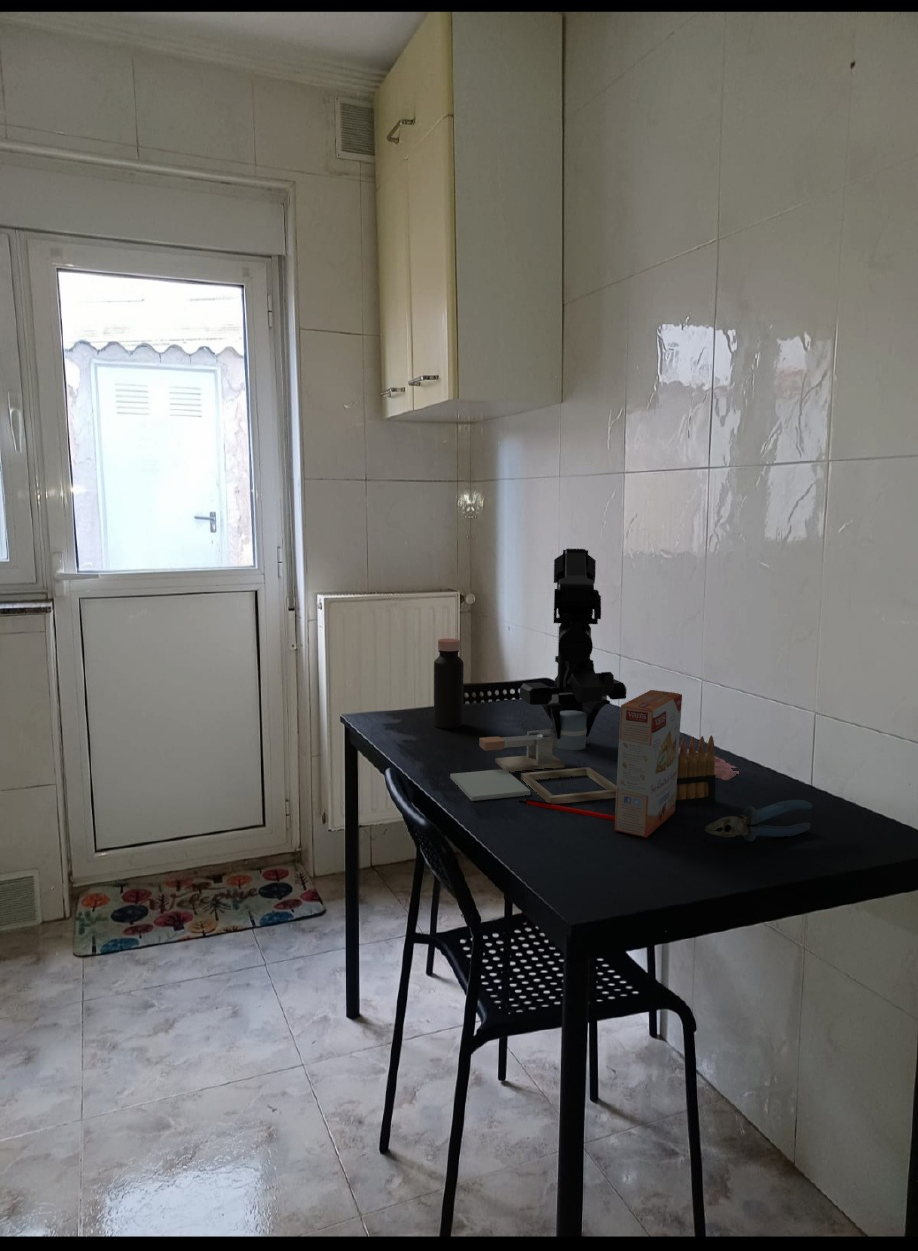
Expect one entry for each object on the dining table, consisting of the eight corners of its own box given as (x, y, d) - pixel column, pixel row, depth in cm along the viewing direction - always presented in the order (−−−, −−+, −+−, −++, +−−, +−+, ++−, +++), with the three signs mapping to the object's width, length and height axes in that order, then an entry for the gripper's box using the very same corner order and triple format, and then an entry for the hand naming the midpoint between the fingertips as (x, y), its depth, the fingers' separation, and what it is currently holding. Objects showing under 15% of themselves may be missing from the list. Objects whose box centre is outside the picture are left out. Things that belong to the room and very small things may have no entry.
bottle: (445, 720, 208) (445, 636, 205) (468, 724, 204) (469, 639, 201) (427, 726, 203) (428, 640, 200) (451, 730, 199) (452, 643, 196)
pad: (505, 773, 169) (505, 769, 169) (530, 795, 157) (530, 790, 157) (450, 778, 166) (450, 773, 166) (471, 801, 154) (471, 796, 154)
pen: (520, 802, 154) (520, 796, 154) (626, 822, 145) (626, 816, 145) (518, 804, 153) (518, 798, 153) (624, 824, 144) (625, 817, 144)
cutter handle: (559, 742, 178) (559, 728, 177) (566, 747, 174) (566, 732, 174) (479, 749, 173) (479, 734, 172) (485, 754, 169) (485, 739, 169)
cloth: (741, 787, 164) (742, 775, 164) (623, 774, 171) (624, 762, 171) (744, 757, 183) (744, 746, 183) (638, 746, 190) (638, 735, 190)
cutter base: (550, 757, 180) (551, 728, 179) (564, 767, 173) (565, 737, 172) (495, 762, 176) (495, 733, 175) (507, 772, 169) (507, 742, 168)
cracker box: (649, 840, 137) (654, 709, 134) (612, 832, 140) (617, 704, 137) (678, 813, 149) (683, 692, 146) (644, 806, 152) (648, 687, 149)
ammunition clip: (660, 808, 151) (663, 740, 149) (655, 804, 153) (658, 737, 151) (715, 803, 154) (719, 736, 152) (709, 799, 156) (713, 733, 154)
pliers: (710, 853, 132) (712, 815, 132) (701, 847, 134) (703, 810, 134) (813, 835, 140) (816, 799, 139) (803, 830, 142) (806, 795, 141)
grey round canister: (578, 741, 163) (579, 709, 162) (591, 749, 158) (592, 716, 157) (552, 743, 161) (553, 711, 160) (564, 751, 156) (565, 718, 155)
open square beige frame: (588, 773, 170) (588, 767, 169) (622, 797, 156) (623, 790, 156) (520, 779, 165) (520, 773, 165) (550, 804, 152) (550, 798, 152)
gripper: (543, 663, 147) (541, 754, 149) (643, 658, 152) (639, 745, 155) (519, 652, 157) (517, 737, 159) (613, 647, 163) (610, 729, 165)
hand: (571, 737), depth 159 cm, fingers closed on grey round canister, 5 cm apart
